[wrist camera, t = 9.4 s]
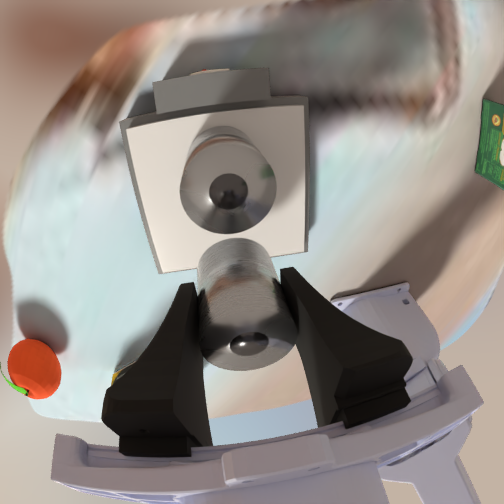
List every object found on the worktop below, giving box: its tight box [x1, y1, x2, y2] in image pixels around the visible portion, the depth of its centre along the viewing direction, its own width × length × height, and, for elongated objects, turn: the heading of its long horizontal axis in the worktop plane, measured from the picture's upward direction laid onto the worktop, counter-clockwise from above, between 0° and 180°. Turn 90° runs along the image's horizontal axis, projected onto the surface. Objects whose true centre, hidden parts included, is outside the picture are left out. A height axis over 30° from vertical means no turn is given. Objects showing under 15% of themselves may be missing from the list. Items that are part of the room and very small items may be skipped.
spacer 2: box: [197, 238, 297, 371], centre depth 13 cm, size 4×4×5 cm
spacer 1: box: [180, 126, 277, 234], centre depth 14 cm, size 4×4×5 cm
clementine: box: [0, 339, 61, 399], centre depth 22 cm, size 8×7×7 cm
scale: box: [119, 68, 310, 274], centre depth 17 cm, size 11×13×3 cm
